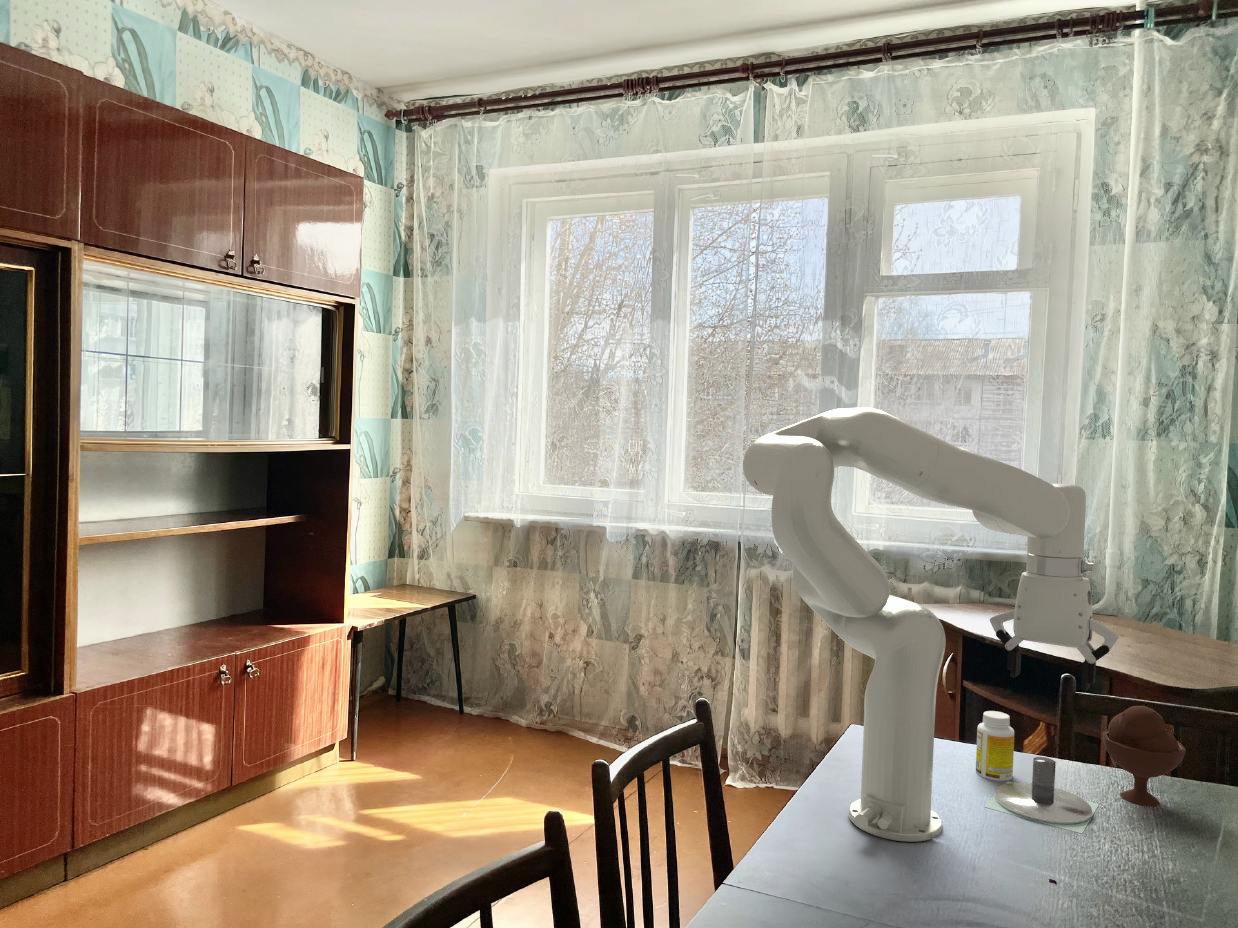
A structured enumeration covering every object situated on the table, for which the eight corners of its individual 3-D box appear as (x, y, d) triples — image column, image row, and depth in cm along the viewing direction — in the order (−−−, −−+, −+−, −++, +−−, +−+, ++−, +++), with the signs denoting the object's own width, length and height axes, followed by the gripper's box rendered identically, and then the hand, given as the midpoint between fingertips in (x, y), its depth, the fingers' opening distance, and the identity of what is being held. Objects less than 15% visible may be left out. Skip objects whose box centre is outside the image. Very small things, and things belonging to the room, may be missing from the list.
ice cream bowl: (1198, 817, 130) (1204, 717, 129) (1121, 814, 130) (1127, 714, 129) (1156, 788, 140) (1161, 695, 140) (1085, 786, 141) (1090, 693, 140)
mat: (1081, 836, 123) (1082, 833, 123) (984, 809, 130) (984, 806, 130) (1099, 806, 133) (1099, 803, 133) (1007, 783, 141) (1007, 780, 141)
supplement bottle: (1020, 780, 142) (1023, 717, 142) (995, 785, 140) (998, 721, 139) (991, 768, 147) (994, 707, 147) (967, 772, 145) (970, 711, 144)
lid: (1082, 833, 123) (1084, 785, 122) (984, 806, 130) (986, 761, 130) (1099, 803, 133) (1101, 759, 133) (1007, 780, 141) (1009, 738, 140)
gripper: (1125, 570, 128) (1120, 687, 129) (999, 558, 139) (995, 666, 139) (1116, 577, 122) (1111, 699, 123) (986, 563, 133) (981, 675, 133)
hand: (1049, 681), depth 131 cm, fingers open, 9 cm apart
